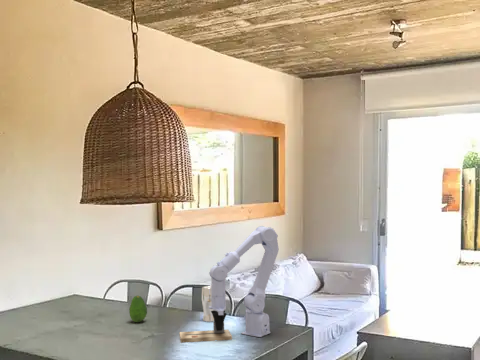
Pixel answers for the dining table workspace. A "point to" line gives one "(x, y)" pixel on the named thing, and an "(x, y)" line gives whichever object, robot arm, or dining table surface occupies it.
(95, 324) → the dining table surface
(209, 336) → the fader board
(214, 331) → the fader knob
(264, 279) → the robot arm
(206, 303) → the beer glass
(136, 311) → the avocado
